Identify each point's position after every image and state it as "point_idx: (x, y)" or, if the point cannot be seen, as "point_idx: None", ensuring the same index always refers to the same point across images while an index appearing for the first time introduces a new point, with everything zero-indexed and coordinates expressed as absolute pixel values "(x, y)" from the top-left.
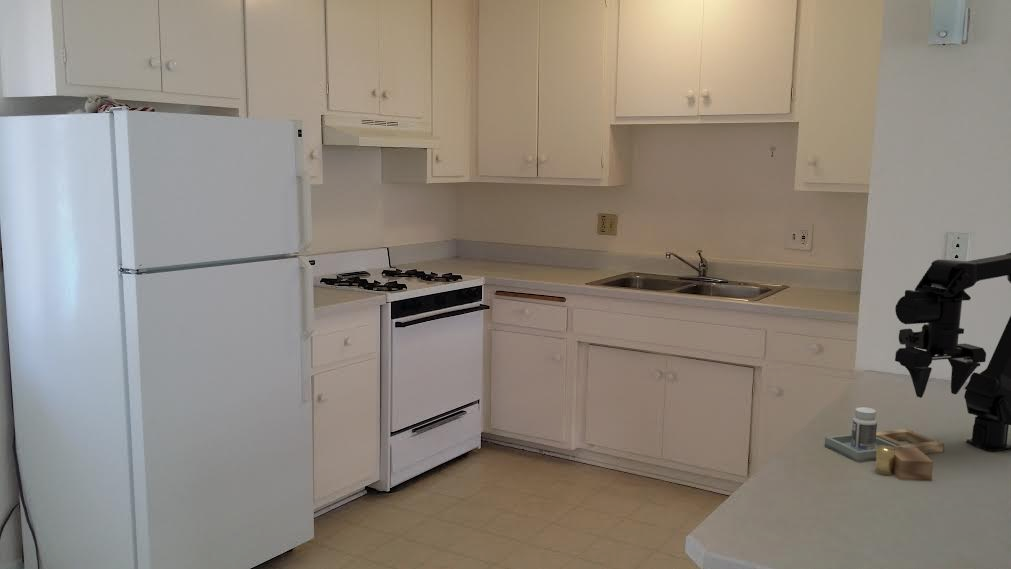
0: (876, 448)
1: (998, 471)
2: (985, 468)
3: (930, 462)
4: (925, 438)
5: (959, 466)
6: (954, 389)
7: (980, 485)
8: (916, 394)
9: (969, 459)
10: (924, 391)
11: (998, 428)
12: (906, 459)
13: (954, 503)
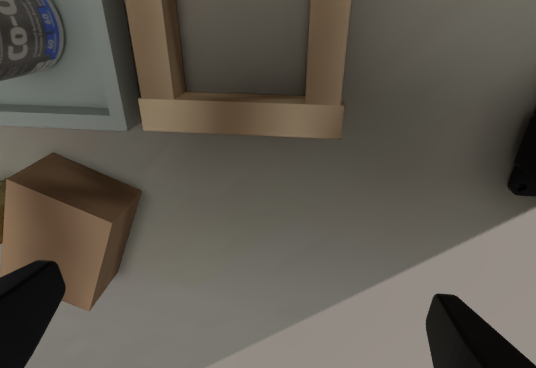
0: (78, 42)
1: (344, 291)
2: (330, 268)
3: (83, 306)
4: (320, 62)
5: (270, 236)
6: (440, 354)
7: (214, 323)
8: (25, 268)
9: (356, 209)
10: (30, 354)
11: None
12: None
13: (91, 349)
